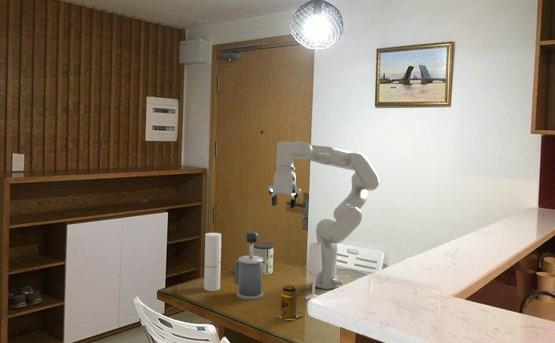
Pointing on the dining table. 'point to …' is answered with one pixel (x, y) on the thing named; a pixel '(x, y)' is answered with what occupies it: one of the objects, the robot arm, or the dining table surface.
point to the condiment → (288, 302)
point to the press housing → (249, 277)
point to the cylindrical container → (212, 261)
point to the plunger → (251, 241)
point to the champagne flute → (314, 264)
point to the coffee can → (265, 256)
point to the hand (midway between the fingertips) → (283, 206)
